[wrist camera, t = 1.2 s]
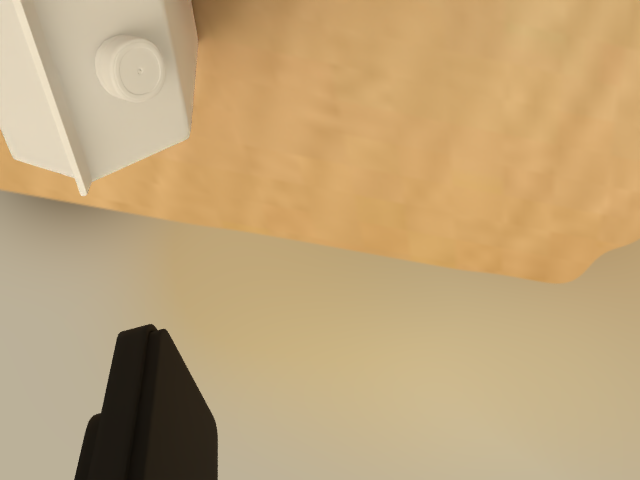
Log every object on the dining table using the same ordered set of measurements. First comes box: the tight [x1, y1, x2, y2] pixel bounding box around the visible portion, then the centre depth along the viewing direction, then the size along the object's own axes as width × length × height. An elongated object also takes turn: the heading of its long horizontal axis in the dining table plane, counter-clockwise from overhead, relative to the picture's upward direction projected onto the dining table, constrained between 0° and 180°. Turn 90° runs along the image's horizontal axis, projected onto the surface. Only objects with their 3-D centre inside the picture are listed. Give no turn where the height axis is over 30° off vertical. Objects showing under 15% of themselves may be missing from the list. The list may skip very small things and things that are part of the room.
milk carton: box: [0, 0, 198, 196], centre depth 25 cm, size 7×7×19 cm
